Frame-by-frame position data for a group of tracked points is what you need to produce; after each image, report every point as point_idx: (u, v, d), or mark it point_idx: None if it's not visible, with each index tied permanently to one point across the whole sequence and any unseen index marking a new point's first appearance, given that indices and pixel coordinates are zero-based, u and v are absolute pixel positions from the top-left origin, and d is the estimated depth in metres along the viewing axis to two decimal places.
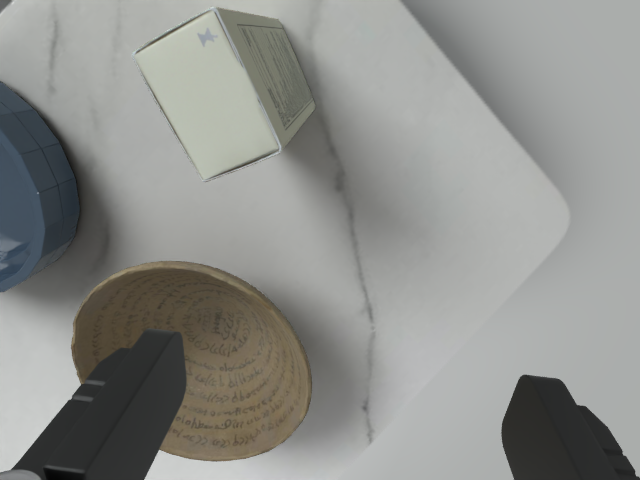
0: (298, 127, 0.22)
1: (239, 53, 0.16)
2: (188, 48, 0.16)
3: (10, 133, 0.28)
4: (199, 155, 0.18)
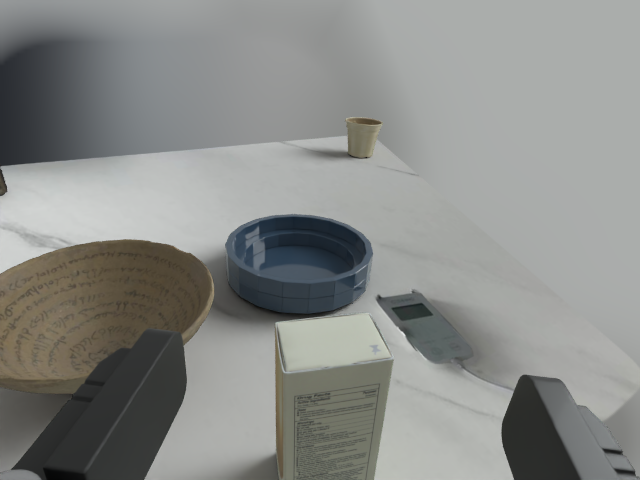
0: (286, 432, 0.23)
1: (362, 365, 0.22)
2: (368, 338, 0.23)
3: (323, 285, 0.43)
4: (296, 325, 0.24)
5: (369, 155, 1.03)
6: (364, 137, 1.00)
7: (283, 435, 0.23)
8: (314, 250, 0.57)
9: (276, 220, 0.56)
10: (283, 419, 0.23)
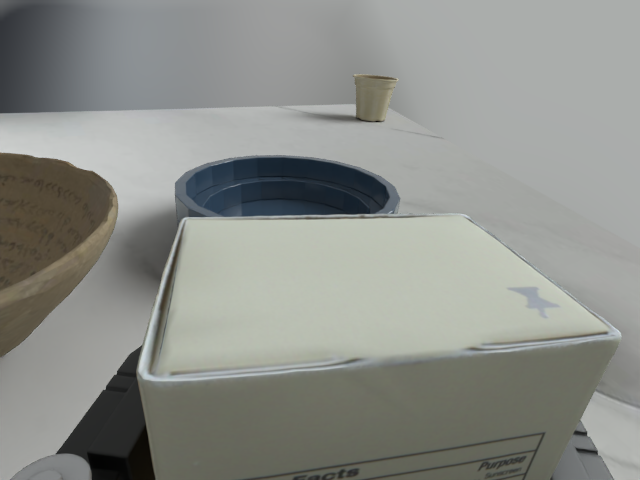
0: None
1: (503, 358, 0.05)
2: (494, 267, 0.07)
3: None
4: (245, 226, 0.07)
5: (381, 118, 0.87)
6: (376, 96, 0.83)
7: None
8: (312, 205, 0.40)
9: (259, 162, 0.40)
10: None
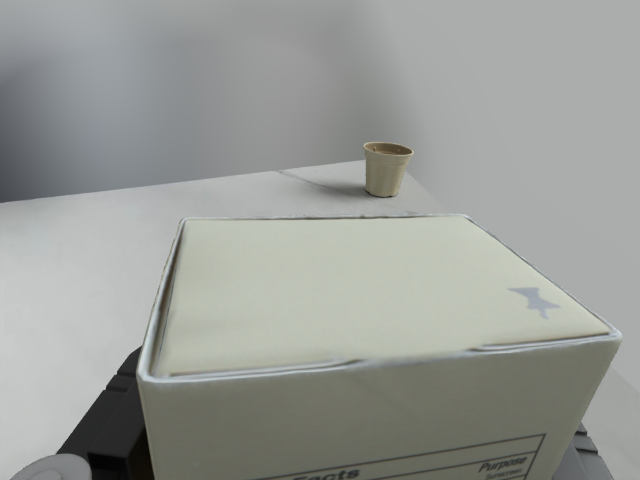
0: None
1: (505, 358, 0.05)
2: (495, 267, 0.07)
3: None
4: (246, 226, 0.07)
5: (394, 193, 0.78)
6: (388, 171, 0.74)
7: None
8: None
9: None
10: None
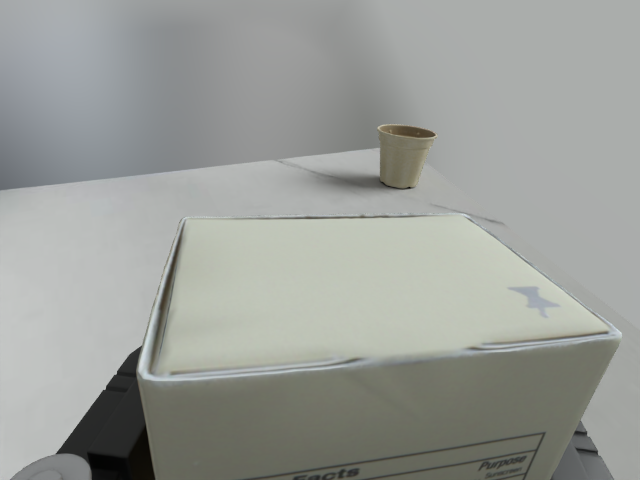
0: None
1: (504, 356, 0.05)
2: (494, 266, 0.07)
3: None
4: (246, 226, 0.07)
5: (414, 184, 0.66)
6: (408, 158, 0.63)
7: None
8: None
9: None
10: None
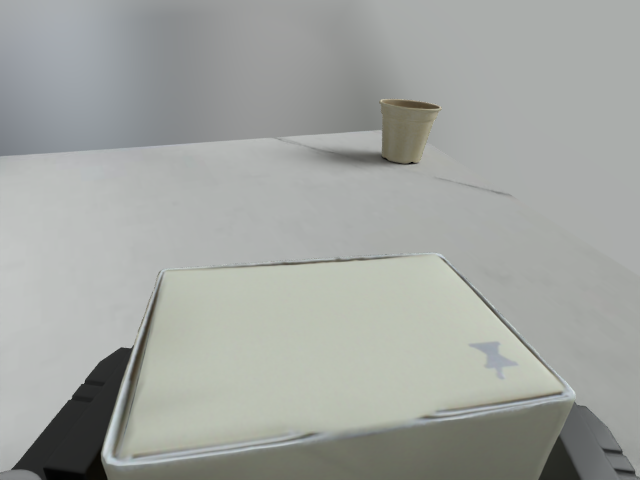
0: None
1: (457, 424, 0.05)
2: (459, 318, 0.07)
3: None
4: (221, 277, 0.08)
5: (417, 159, 0.64)
6: (411, 130, 0.61)
7: None
8: None
9: None
10: None
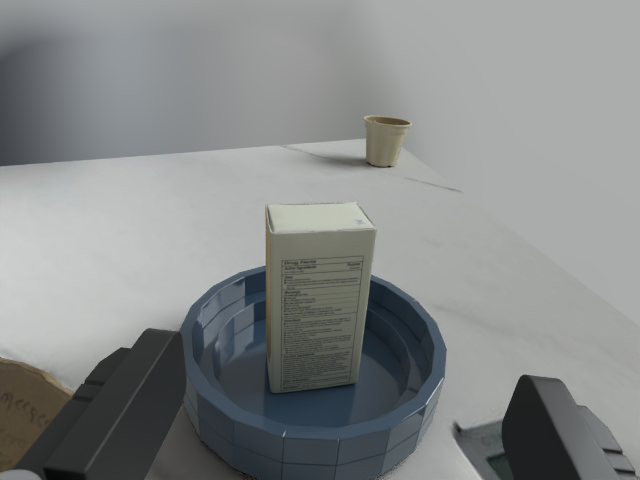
0: (274, 301, 0.24)
1: (346, 232, 0.23)
2: (354, 215, 0.25)
3: (366, 440, 0.21)
4: (285, 206, 0.25)
5: (393, 163, 0.82)
6: (388, 141, 0.78)
7: (271, 306, 0.24)
8: None
9: None
10: (271, 287, 0.24)
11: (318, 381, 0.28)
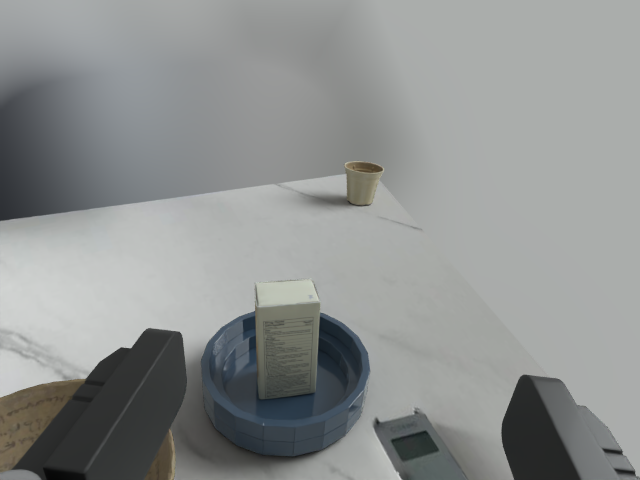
0: (259, 344, 0.40)
1: (301, 304, 0.39)
2: (308, 291, 0.40)
3: (310, 427, 0.36)
4: (266, 284, 0.41)
5: (369, 202, 0.97)
6: (364, 185, 0.94)
7: (257, 347, 0.40)
8: None
9: None
10: (257, 336, 0.39)
11: (289, 391, 0.43)
